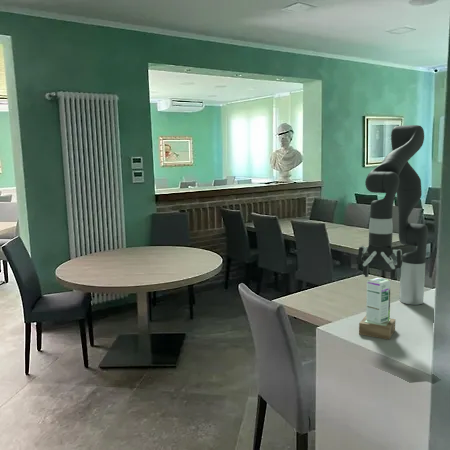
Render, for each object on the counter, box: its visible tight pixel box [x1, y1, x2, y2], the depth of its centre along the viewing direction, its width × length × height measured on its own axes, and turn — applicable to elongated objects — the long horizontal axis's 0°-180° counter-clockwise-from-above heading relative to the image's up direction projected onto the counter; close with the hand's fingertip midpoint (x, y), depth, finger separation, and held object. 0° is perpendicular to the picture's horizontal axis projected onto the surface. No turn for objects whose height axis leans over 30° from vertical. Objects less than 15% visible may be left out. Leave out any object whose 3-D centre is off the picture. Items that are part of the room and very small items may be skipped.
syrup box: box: [365, 277, 391, 324], centre depth 160 cm, size 6×6×14 cm
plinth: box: [358, 315, 396, 340], centre depth 161 cm, size 10×10×4 cm
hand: (379, 277), depth 159 cm, fingers open, 8 cm apart
